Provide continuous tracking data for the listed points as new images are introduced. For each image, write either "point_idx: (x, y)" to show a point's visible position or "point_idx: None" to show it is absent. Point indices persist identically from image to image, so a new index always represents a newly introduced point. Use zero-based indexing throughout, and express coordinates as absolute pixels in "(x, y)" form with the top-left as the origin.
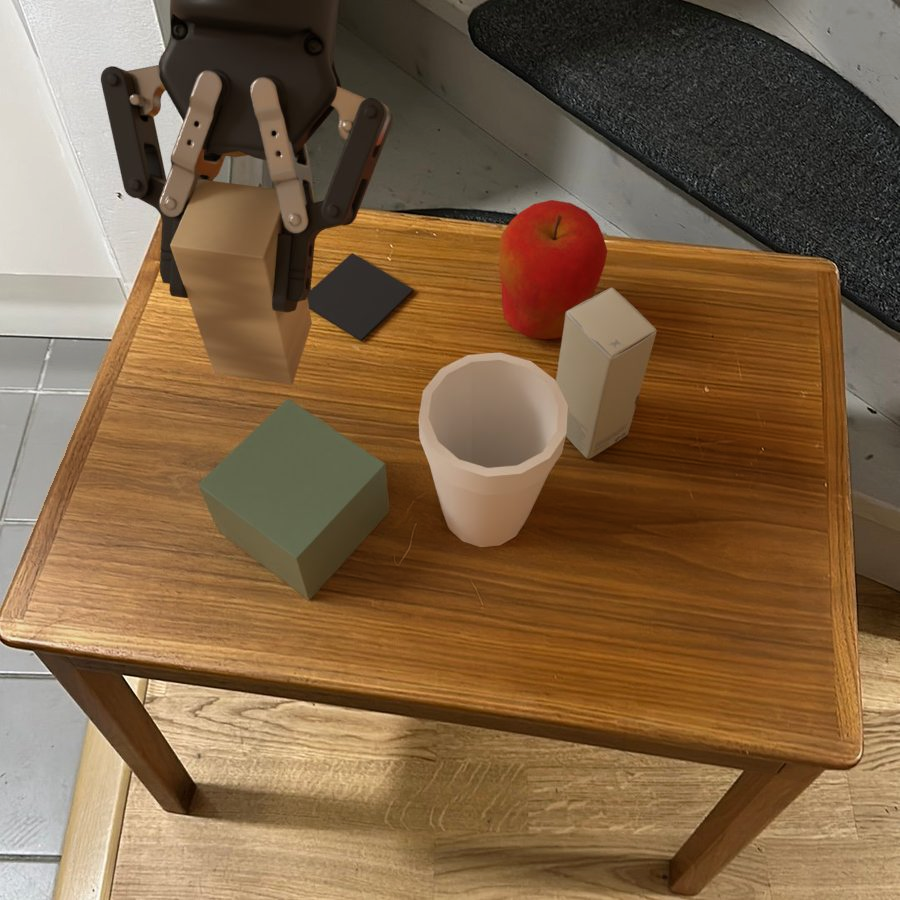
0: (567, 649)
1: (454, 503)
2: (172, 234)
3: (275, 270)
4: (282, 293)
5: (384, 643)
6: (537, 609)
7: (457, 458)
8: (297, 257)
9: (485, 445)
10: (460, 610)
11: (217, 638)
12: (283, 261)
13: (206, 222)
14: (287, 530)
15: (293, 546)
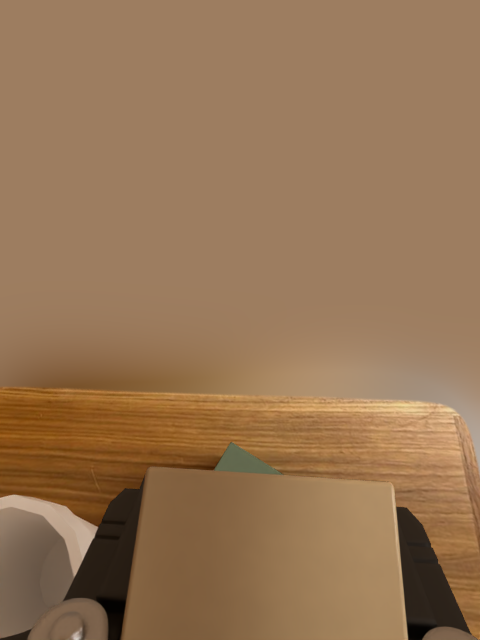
0: (28, 437)
1: (85, 522)
2: (421, 583)
3: None
4: None
5: (170, 427)
6: (46, 470)
7: (44, 516)
8: (103, 563)
9: None
10: (110, 462)
11: (299, 417)
12: (133, 539)
13: (326, 586)
14: (244, 470)
15: (236, 454)
